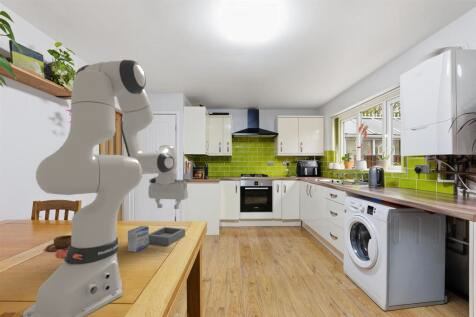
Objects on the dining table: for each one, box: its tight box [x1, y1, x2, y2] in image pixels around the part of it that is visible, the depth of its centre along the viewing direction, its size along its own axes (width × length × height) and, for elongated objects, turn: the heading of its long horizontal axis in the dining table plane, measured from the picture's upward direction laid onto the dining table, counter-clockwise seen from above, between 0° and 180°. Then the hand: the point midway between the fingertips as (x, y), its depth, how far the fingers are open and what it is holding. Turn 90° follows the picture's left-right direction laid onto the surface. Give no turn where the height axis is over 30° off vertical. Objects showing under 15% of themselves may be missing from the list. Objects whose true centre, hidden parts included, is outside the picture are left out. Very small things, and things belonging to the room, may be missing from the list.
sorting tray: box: [149, 226, 186, 247], centre depth 114 cm, size 12×14×4 cm
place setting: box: [45, 234, 71, 253], centre depth 99 cm, size 18×20×6 cm
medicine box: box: [127, 225, 150, 253], centre depth 102 cm, size 8×4×9 cm, turn 161°
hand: (168, 208), depth 113 cm, fingers open, 8 cm apart
